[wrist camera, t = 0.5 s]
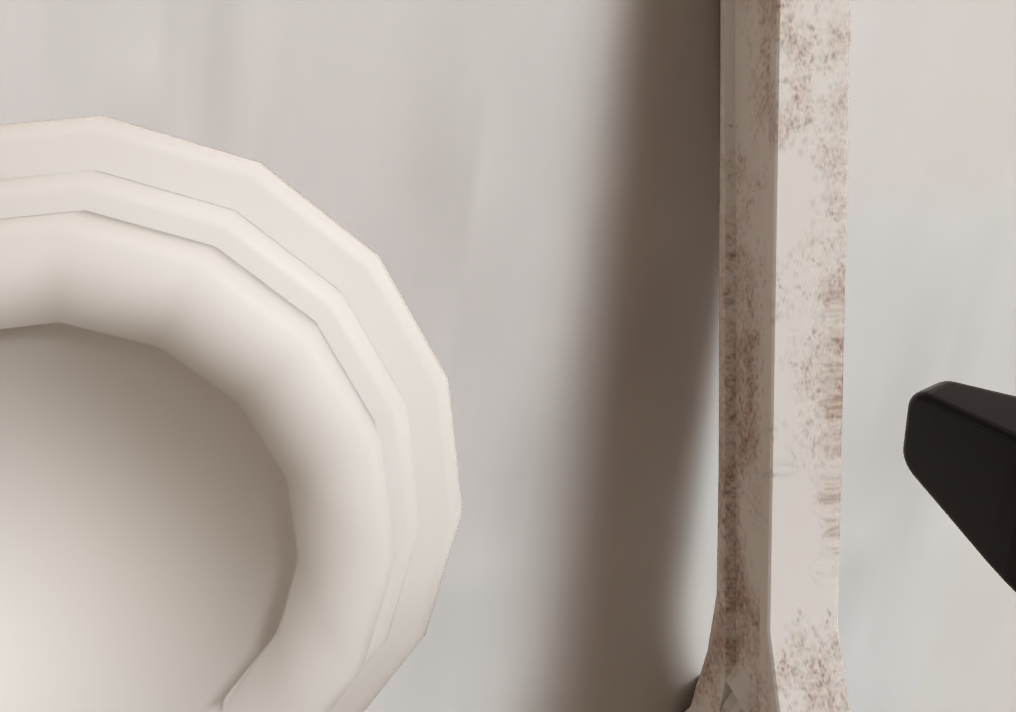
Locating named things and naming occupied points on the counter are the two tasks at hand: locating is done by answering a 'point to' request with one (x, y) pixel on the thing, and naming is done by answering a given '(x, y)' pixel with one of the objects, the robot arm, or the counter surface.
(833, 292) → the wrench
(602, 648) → the counter surface
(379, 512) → the coffee cup
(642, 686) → the counter surface
